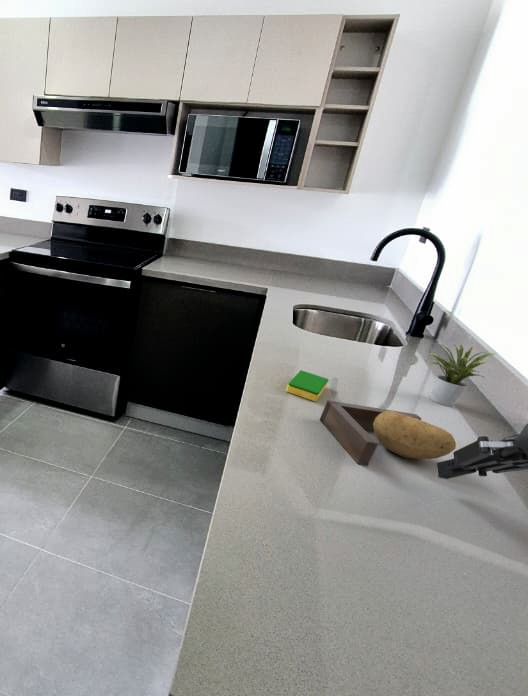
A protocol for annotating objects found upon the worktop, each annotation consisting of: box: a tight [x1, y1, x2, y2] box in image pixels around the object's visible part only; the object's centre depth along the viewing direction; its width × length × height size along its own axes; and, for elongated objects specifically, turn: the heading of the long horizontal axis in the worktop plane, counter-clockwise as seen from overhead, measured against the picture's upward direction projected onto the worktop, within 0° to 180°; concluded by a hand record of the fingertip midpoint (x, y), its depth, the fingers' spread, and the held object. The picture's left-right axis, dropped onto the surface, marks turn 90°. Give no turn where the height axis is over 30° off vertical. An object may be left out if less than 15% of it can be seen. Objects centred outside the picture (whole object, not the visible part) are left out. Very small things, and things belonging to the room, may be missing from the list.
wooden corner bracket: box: [319, 399, 422, 466], centre depth 103 cm, size 20×18×5 cm
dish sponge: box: [285, 369, 330, 402], centre depth 128 cm, size 7×14×2 cm, turn 143°
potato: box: [373, 410, 457, 460], centre depth 101 cm, size 10×14×8 cm
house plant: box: [426, 341, 495, 407], centre depth 131 cm, size 14×14×16 cm
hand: (441, 470), depth 91 cm, fingers closed
